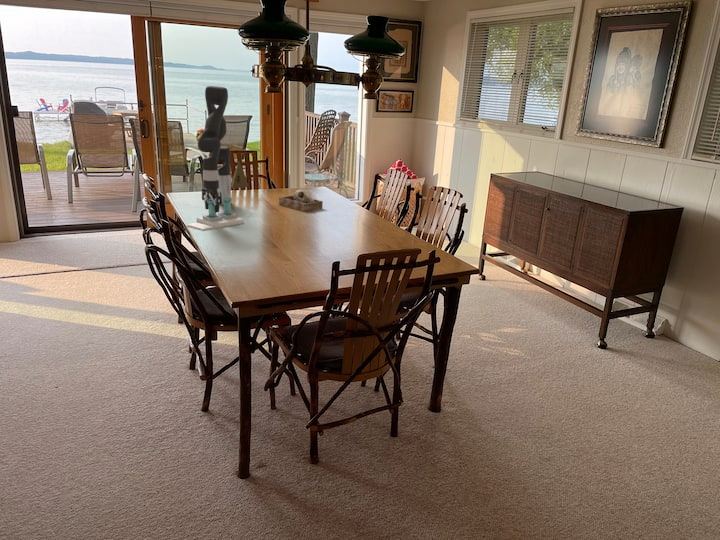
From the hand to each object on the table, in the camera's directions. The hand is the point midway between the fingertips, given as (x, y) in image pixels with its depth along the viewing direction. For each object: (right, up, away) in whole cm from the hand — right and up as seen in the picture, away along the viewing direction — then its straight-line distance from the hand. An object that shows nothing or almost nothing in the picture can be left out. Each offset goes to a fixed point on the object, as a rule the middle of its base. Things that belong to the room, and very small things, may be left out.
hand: (212, 210), depth 267 cm
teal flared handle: (+6, -3, +8) cm, 10 cm away
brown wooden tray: (+39, +8, +49) cm, 63 cm away
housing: (+3, -5, +5) cm, 8 cm away
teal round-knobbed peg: (0, -4, +1) cm, 5 cm away
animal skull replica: (+42, +7, +49) cm, 65 cm away
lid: (-5, -9, -6) cm, 11 cm away
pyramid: (-9, +28, +100) cm, 104 cm away
